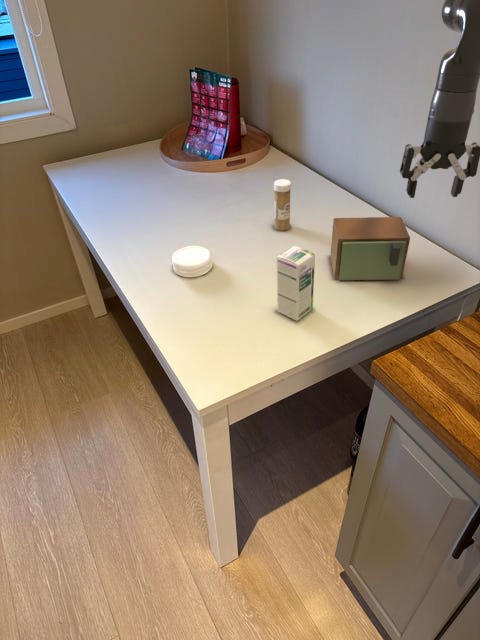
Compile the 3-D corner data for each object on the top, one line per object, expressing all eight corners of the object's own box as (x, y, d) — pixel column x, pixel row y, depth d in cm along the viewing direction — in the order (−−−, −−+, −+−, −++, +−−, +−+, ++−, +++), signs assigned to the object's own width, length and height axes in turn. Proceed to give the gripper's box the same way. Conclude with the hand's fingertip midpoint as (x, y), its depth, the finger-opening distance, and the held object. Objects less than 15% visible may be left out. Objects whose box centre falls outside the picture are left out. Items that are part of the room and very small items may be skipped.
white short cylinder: (187, 253, 129) (185, 241, 126) (219, 261, 125) (218, 249, 122) (165, 272, 122) (163, 260, 120) (199, 282, 118) (198, 269, 116)
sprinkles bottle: (285, 232, 135) (285, 186, 126) (270, 228, 137) (270, 183, 128) (293, 225, 138) (294, 180, 129) (279, 221, 140) (279, 177, 131)
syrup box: (297, 322, 105) (299, 265, 95) (276, 311, 108) (276, 255, 99) (313, 309, 108) (316, 253, 99) (291, 299, 111) (293, 244, 102)
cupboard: (393, 256, 123) (401, 216, 116) (402, 278, 115) (410, 237, 108) (330, 256, 124) (333, 218, 117) (334, 279, 116) (338, 238, 109)
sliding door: (398, 277, 115) (405, 240, 108) (401, 285, 112) (409, 248, 106) (338, 278, 116) (342, 241, 109) (340, 286, 113) (344, 249, 107)
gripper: (483, 106, 92) (462, 187, 102) (406, 109, 93) (393, 188, 103) (497, 119, 86) (473, 203, 96) (415, 121, 87) (400, 204, 97)
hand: (432, 195), depth 100 cm, fingers open, 8 cm apart
